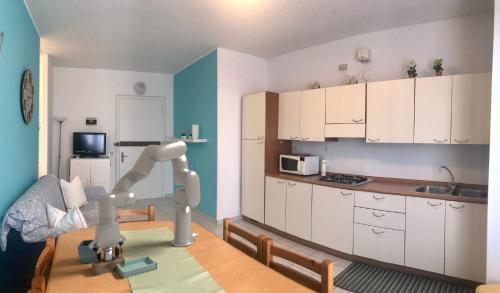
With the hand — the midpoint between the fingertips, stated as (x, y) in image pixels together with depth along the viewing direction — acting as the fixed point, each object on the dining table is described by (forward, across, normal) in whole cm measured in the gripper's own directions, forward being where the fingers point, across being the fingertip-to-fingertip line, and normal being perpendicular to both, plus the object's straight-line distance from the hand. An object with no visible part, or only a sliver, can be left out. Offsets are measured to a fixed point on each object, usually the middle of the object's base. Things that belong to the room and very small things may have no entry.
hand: (108, 258), depth 133 cm
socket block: (+5, 0, 0) cm, 5 cm away
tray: (+5, -10, +9) cm, 14 cm away
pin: (+5, 0, 0) cm, 5 cm away
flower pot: (+5, +5, -14) cm, 16 cm away
